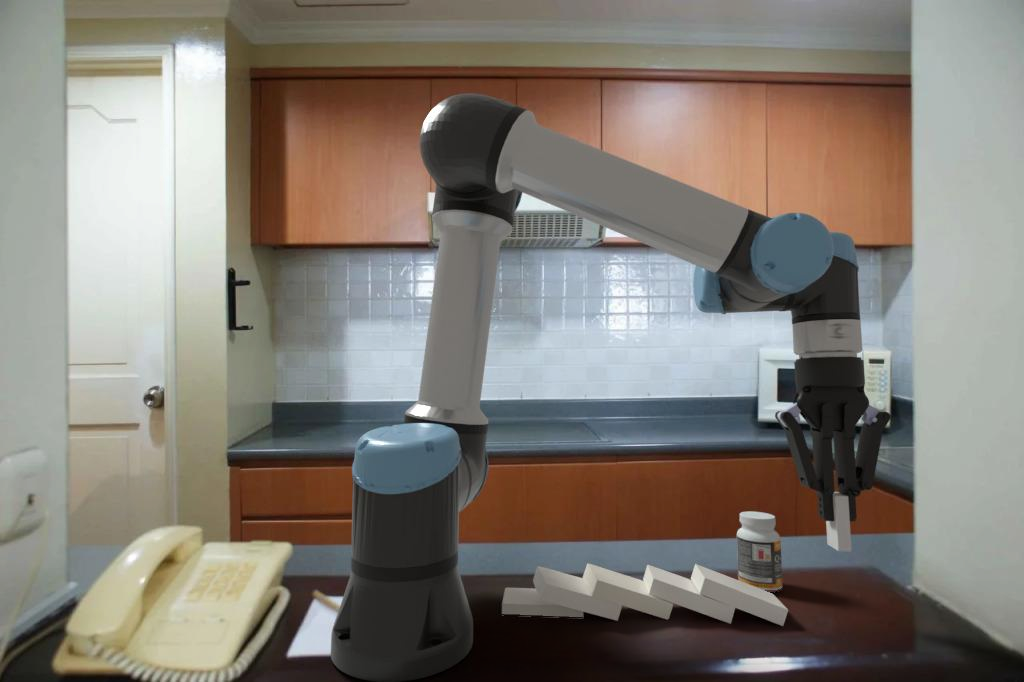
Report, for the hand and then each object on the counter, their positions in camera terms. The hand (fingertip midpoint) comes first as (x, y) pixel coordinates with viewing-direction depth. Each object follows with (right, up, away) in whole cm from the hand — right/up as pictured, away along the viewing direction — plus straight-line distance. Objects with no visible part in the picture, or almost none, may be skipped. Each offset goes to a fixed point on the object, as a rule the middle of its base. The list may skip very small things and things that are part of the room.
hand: (839, 547), depth 64 cm
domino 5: (-8, -8, 0) cm, 11 cm away
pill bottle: (-5, -10, +10) cm, 15 cm away
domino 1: (-31, -8, +2) cm, 33 cm away
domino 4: (-13, -8, +1) cm, 16 cm away
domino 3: (-21, -8, +2) cm, 23 cm away
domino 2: (-28, -7, +1) cm, 29 cm away
